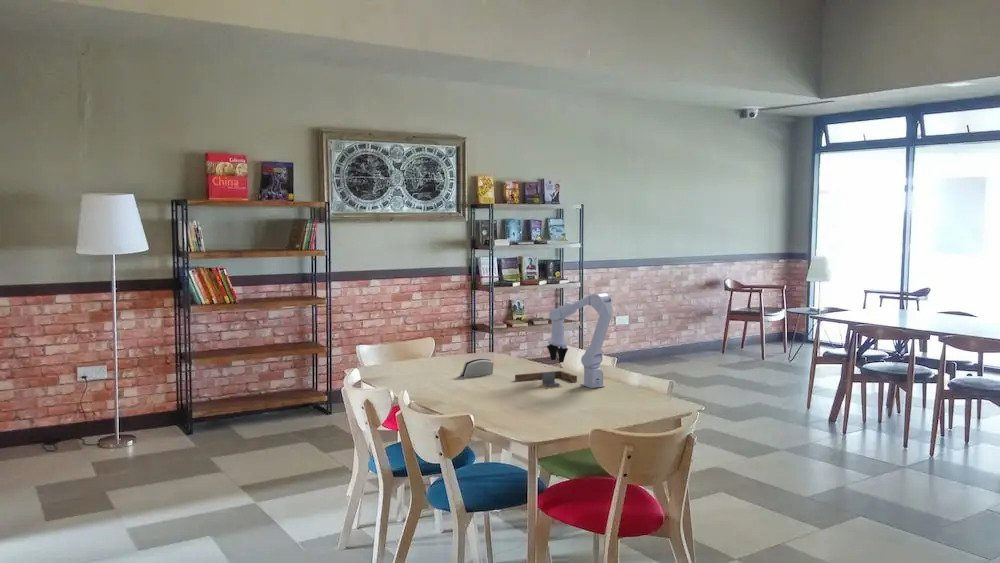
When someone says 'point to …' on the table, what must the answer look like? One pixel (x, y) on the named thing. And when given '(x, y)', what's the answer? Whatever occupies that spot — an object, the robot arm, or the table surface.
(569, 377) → the brown wooden l-shape
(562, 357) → the robot arm
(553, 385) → the bracket
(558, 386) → the pad
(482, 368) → the grey curved-top block
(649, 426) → the table surface
